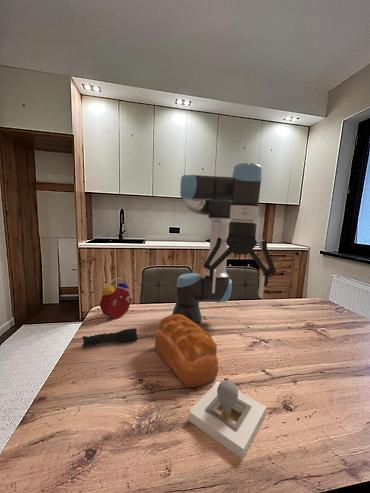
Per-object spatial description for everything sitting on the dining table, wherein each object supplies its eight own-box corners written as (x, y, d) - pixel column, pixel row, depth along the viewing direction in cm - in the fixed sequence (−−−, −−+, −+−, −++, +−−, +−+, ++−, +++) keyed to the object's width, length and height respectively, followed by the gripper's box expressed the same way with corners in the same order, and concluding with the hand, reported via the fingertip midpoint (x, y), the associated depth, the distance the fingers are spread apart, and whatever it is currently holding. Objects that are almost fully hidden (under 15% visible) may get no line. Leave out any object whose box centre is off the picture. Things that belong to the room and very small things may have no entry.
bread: (187, 393, 70) (190, 345, 68) (151, 348, 92) (152, 311, 90) (222, 378, 77) (226, 334, 75) (181, 339, 99) (183, 305, 97)
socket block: (188, 420, 61) (189, 410, 60) (217, 388, 72) (218, 379, 72) (242, 459, 52) (243, 447, 51) (265, 415, 63) (266, 405, 63)
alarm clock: (123, 310, 125) (123, 273, 122) (134, 314, 120) (135, 277, 117) (99, 319, 113) (99, 279, 110) (110, 325, 108) (110, 283, 105)
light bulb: (226, 405, 66) (228, 373, 65) (240, 419, 61) (243, 385, 60) (211, 414, 63) (213, 380, 62) (226, 430, 58) (228, 393, 57)
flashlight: (137, 342, 95) (137, 331, 95) (82, 351, 88) (82, 339, 87) (135, 336, 100) (135, 325, 99) (82, 344, 92) (82, 332, 91)
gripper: (197, 219, 63) (193, 294, 66) (293, 224, 60) (284, 302, 63) (199, 218, 71) (195, 286, 74) (285, 223, 67) (277, 293, 71)
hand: (236, 294), depth 68 cm, fingers open, 13 cm apart
